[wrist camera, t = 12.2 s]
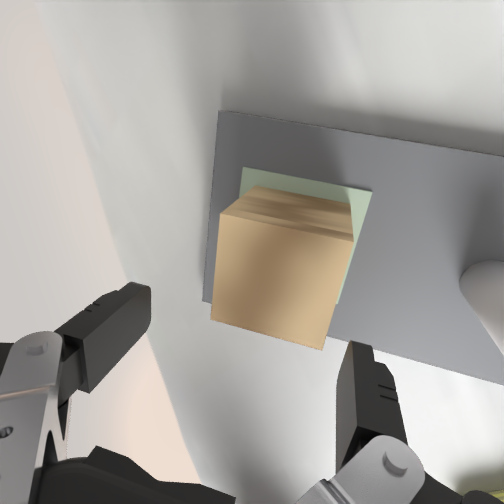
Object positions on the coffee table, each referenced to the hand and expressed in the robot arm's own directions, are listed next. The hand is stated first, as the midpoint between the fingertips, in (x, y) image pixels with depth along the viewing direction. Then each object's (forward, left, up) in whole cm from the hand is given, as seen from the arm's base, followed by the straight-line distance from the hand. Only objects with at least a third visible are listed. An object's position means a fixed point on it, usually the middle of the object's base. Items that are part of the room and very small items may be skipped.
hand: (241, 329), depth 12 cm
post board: (0, -7, -12) cm, 13 cm away
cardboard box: (0, -1, -10) cm, 10 cm away
